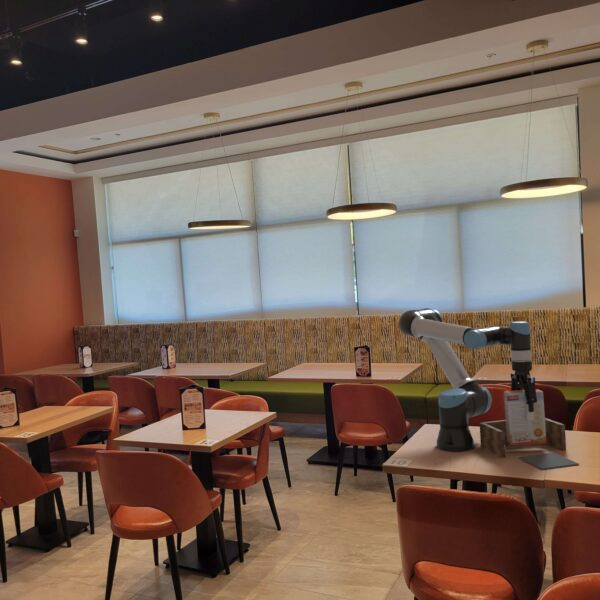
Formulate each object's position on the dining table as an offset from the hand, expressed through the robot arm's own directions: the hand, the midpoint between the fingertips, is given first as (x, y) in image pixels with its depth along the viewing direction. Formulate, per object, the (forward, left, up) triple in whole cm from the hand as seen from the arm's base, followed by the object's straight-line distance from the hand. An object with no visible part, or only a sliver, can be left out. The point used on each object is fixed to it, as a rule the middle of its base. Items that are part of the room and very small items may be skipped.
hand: (524, 417), depth 229 cm
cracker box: (0, 0, -10) cm, 10 cm away
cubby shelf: (-3, 0, -13) cm, 13 cm away
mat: (+15, -1, -13) cm, 20 cm away
